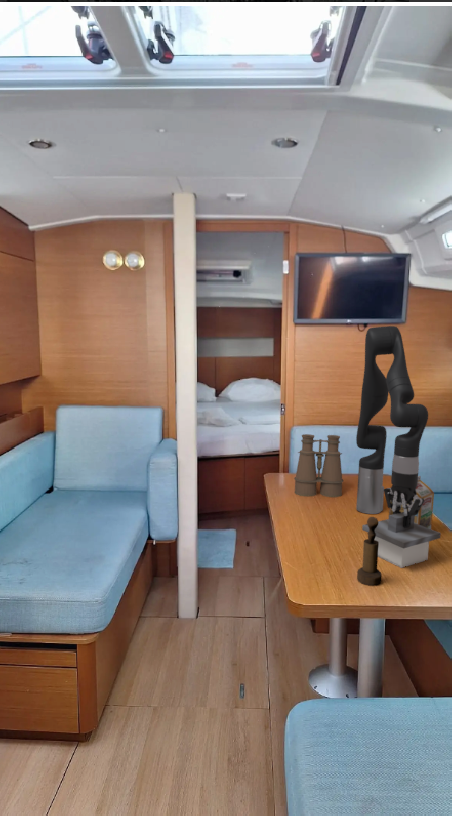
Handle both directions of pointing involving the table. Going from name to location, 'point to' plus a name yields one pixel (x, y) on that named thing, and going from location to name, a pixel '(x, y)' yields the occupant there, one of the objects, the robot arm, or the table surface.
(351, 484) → the table surface
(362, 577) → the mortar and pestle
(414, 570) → the table surface
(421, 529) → the lid
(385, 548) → the white storage bin
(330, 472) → the binoculars
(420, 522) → the milk carton
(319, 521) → the table surface
